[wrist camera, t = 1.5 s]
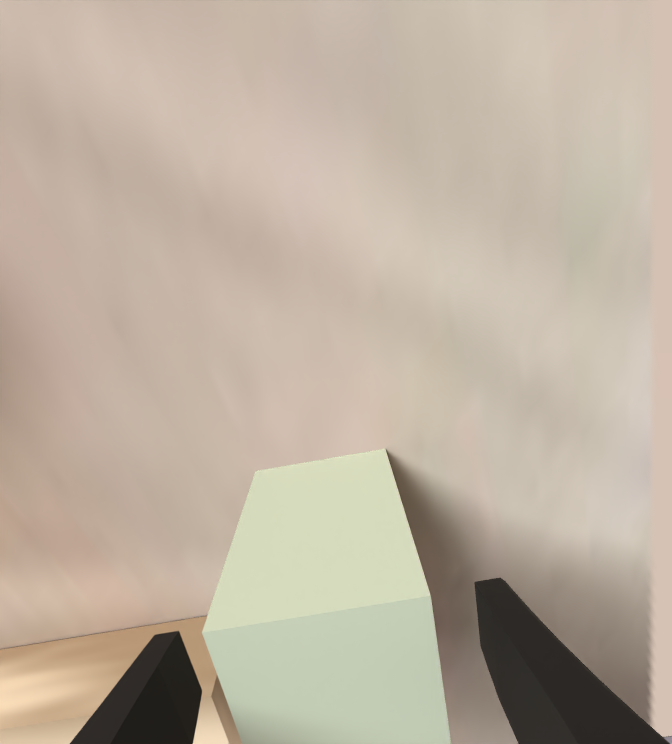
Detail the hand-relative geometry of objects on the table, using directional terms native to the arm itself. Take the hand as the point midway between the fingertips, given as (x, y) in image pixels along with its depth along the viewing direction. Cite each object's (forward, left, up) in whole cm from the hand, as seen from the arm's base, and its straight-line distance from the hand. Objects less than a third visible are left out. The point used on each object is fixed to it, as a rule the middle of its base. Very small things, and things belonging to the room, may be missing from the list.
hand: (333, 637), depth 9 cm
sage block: (0, 0, -5) cm, 5 cm away
